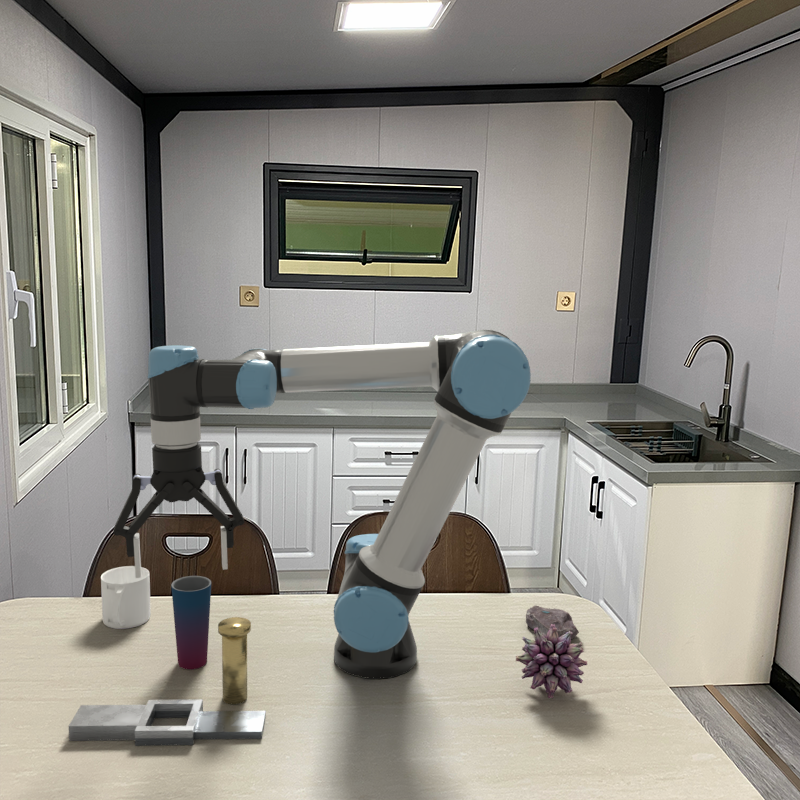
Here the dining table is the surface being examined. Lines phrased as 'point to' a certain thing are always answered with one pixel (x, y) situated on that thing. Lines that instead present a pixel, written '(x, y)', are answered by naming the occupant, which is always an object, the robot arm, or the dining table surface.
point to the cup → (191, 620)
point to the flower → (552, 661)
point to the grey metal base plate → (139, 720)
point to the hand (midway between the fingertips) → (182, 570)
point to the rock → (550, 620)
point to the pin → (234, 659)
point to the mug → (125, 597)
